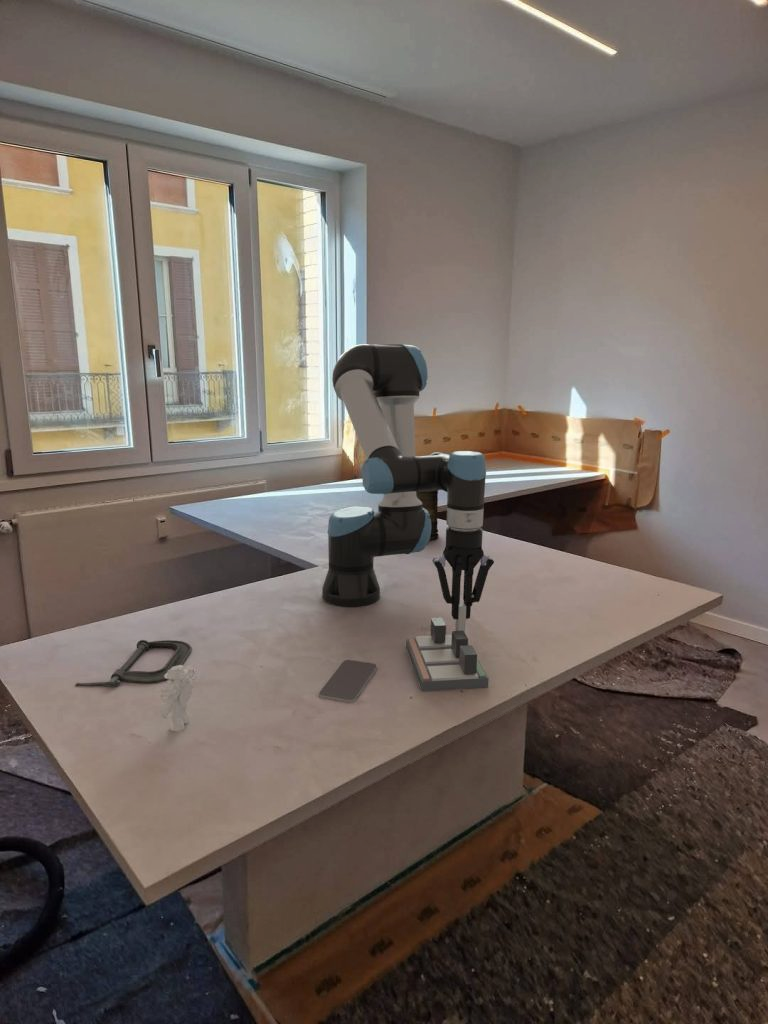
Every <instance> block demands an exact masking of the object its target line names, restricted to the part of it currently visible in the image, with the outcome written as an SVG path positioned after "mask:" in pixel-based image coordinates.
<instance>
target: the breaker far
mask: <svg viewBox="0 0 768 1024" xmlns="http://www.w3.org/2000/svg"><path fill="white" fill-rule="evenodd" d="M446 629H447V625H446V623H445V621H444V619H443V617H431V618H430V636H431V637H432V640H433V642H434V643H445V636H446V635H447V634H446V633H447V632H446Z"/></svg>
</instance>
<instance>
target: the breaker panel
mask: <svg viewBox="0 0 768 1024" xmlns="http://www.w3.org/2000/svg"><path fill="white" fill-rule="evenodd" d="M451 642H452V634H446V636H445V643H434V642H433V640H432V637H431V635H417V636H415V637H411V638H409V637H408V638H406V639H405V648H406V651H407V654H408V656H409V659H410V661H411V662H410V663H411V665H412V667H413V671H414V674H415V676H416V679H417V681H418V685H419V688H420V690H421V692H428V691H429V692H430V691H431V692H432V691H446V690H447V691H448V690H449V691H450V690H463V689H464V690H465V689H483V688H489V676H488V675H487V673H486V672H485V669H484V668H483V666H482V663H480V661H479V659H478V658H477V671H476V674H464V673H463V671H462V669H461V667H460V665H459V658H460V657H458V658H456V657H455V655H454V653H453V651H452V649H451ZM468 645H470V643H469V642H468Z"/></svg>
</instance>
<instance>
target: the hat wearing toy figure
mask: <svg viewBox="0 0 768 1024" xmlns="http://www.w3.org/2000/svg"><path fill="white" fill-rule="evenodd" d="M196 670H197V669H195V668H193V666H192V665H188V666H185V664H183V665H178V666H174V667H172V668H171V669H170V670H168V671H167V673H166V674H165V675H164V677H165V678H166V679H169V683H168V682H166V681H165V682H166V684H165V686H164V687H163V688H161V689H159V691H158V693H160V695H159V697H160V699H162V701H163V702H166V703H165V705H164V706H165V707H164V708H163V710H162V711H161V713H160V714H161V716H162V718H163V719H168V715H169V714H170V713H171V720H172V723H171V724H170V725H169V731H172V732H182V731H184V729H185V725H187V724H188V723H190V721H191V719H190V715H189V712H188V710H187V706H188V705H187V703H188V701H189V700H190V698H191V695H192V694H193V683H192V682H191V680H190V679H192V680H193V681H195V680H196V679H197V673H196V672H197V671H196ZM163 697H165V698H167V699H165V698H163ZM171 708H172V709H171Z"/></svg>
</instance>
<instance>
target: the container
mask: <svg viewBox="0 0 768 1024" xmlns="http://www.w3.org/2000/svg"><path fill="white" fill-rule="evenodd" d="M438 495H439V490H430V491H416V496H417V498H418V499H419V500H420V501H421V502H422V508H424V509H426V510H427V511H428V512H429V514H430V519H431V535H430V539H429V541H435V540H437V539H439V533H438V532H439V529H438V506H439V505H438V500H439V498H438Z"/></svg>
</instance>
